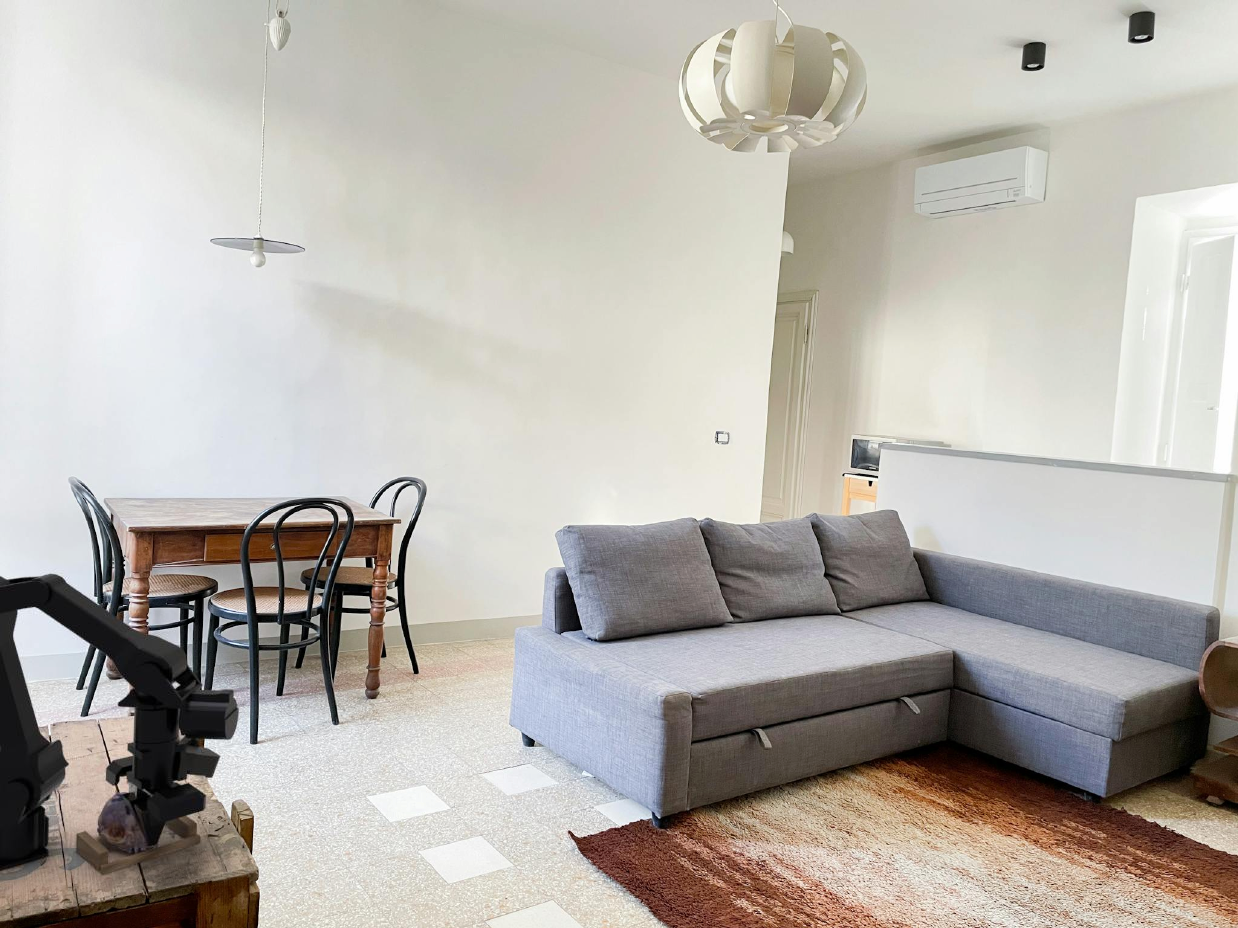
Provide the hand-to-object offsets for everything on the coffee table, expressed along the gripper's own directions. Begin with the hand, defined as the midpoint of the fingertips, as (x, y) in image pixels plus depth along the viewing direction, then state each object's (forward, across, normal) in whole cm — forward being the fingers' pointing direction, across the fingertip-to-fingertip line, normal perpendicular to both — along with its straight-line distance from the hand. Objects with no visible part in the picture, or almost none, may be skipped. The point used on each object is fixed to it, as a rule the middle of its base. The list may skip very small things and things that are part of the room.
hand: (152, 844), depth 129 cm
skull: (+2, +6, 0) cm, 7 cm away
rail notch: (+2, +4, 0) cm, 5 cm away
